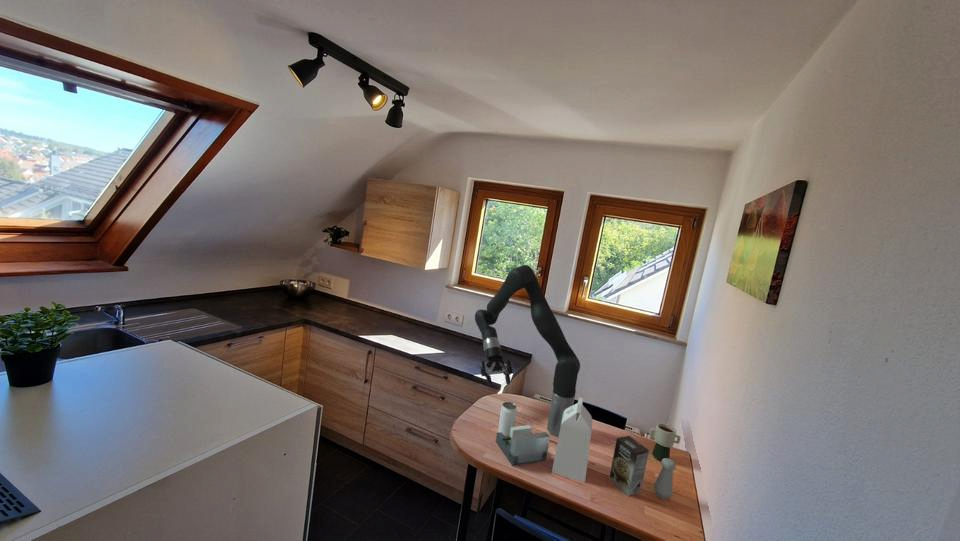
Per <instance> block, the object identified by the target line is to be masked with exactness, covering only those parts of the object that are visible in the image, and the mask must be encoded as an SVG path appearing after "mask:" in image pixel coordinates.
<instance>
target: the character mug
mask: <svg viewBox="0 0 960 541" xmlns="http://www.w3.org/2000/svg"><path fill="white" fill-rule="evenodd" d="M653 432H654V433H653ZM676 433H677V429H676V428H675V427H673V425H672V426H671V425H670V424H668V423H664V422H659V423H657V424H656V426H655V428H654V427H653V428H652V427H651V428H650V429H649V436H651V437H653V438H654V441H655V444H654V447H653V449H652V455H653V457H654V458H655V459H657V460H659V461H662V459H664V458H668V459H670V455H671V448H672V447H673V446H674V444H680V442H681V436H680V435H678V434H676ZM675 438H677V439H675Z"/></svg>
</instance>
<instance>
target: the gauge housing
mask: <svg viewBox="0 0 960 541" xmlns="http://www.w3.org/2000/svg"><path fill="white" fill-rule="evenodd" d="M504 437H506V436H504V435H503V434H502V432H496V436H495V443H496V444H497V446H498V447H499V449H500V450H501V451H502V454H504V456H505V458H506V459H507V460H508V462H509V463H510V465H511V466H512V467H514V466H515V467H516V465H517V466H522V465H528V464H534V463H536V464H537V463H541V462H546V461H547V457H548V451H549V445H550V439H551V438H550V437H551V436H550V435H549V433H547V432H546V431H545V432H538V433H537V432H535V433H532V432H531V434H526V435H518V436H512V441H511V445H510V443H509V440H507V441H502V438H504Z"/></svg>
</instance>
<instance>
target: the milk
mask: <svg viewBox="0 0 960 541" xmlns="http://www.w3.org/2000/svg"><path fill="white" fill-rule="evenodd" d="M583 399H584V398H583V397H578V401H577V403H575V404H574V405H573V406H571V407H569V408H567V409H565V410H564V413H563V417H562V422H561V427H560V432H559V436H558V437H557V438H558V439H557V442H556V443H557V444H556V448H555V454H554V459H553V464H552V469H551V473H552V474H556V475H559V476H563V477H566V478H570V479H573V480H577V481H579V482H582V483H585V482H586V477H587V469H588V462H589V454H590V447H591V446H590V444H591V439H592V428H593V417H592V415H591V414H590V412H589V411H588V410H587V408H586V407H585V406H584V405H583V401H584V400H583Z"/></svg>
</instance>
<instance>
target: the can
mask: <svg viewBox="0 0 960 541" xmlns="http://www.w3.org/2000/svg"><path fill="white" fill-rule="evenodd" d="M517 412H518V409H517V405H516V404H515V403H514V402H511V401H506V402H503V403H502V406H501V407H500V414H499V422H498V429H497V430H498V432H497V433H499V432H502V434H503V435H504V436H505V437H510V430H511V427H516V419H517Z"/></svg>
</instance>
